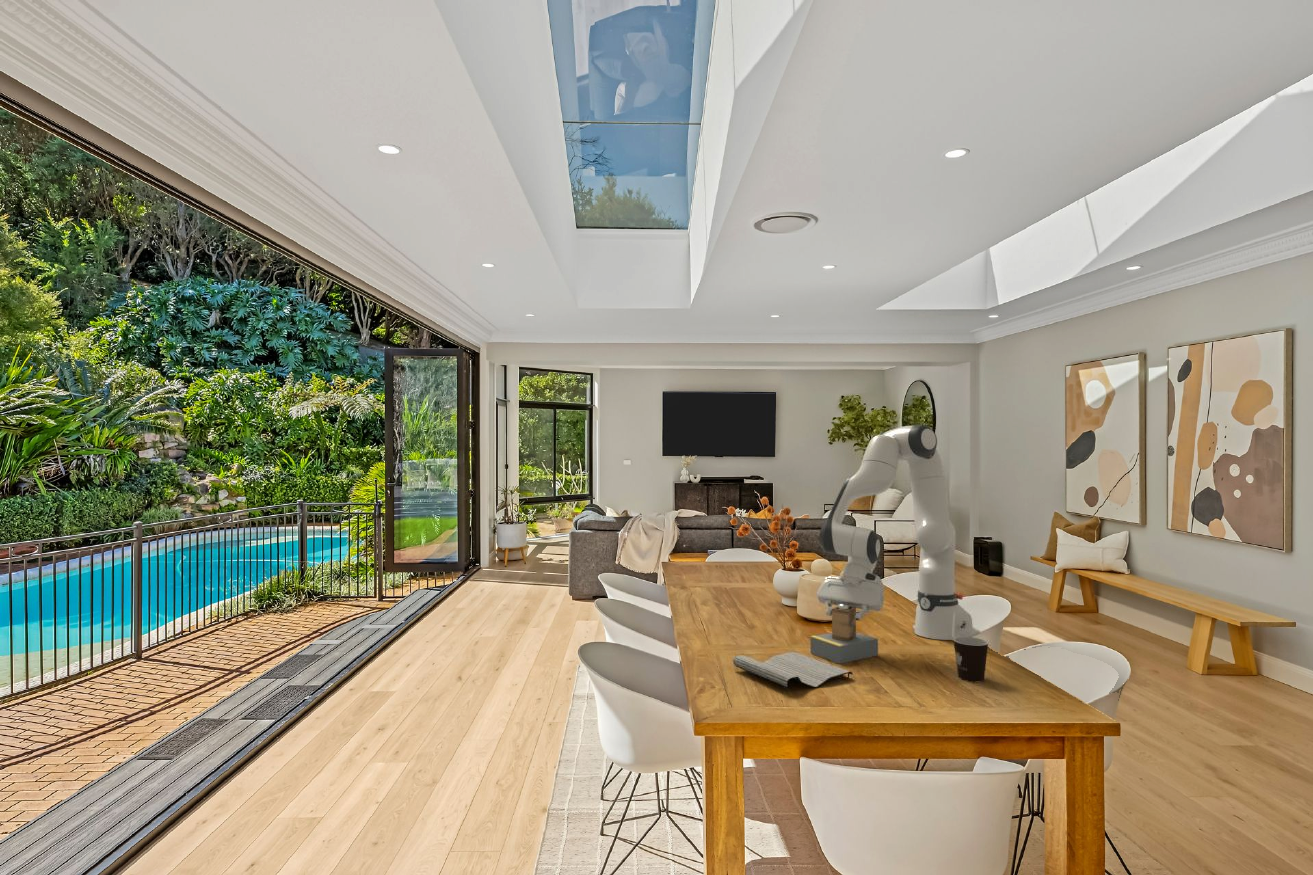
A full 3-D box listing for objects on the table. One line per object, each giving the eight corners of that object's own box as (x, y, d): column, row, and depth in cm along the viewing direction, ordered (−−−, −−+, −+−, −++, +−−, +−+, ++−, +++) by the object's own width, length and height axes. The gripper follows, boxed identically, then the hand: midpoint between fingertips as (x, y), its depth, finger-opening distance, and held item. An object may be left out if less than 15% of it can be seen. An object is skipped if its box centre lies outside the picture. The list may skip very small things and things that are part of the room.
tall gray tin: (840, 634, 209) (840, 605, 209) (856, 636, 206) (855, 607, 206) (832, 638, 205) (832, 608, 205) (848, 641, 201) (847, 611, 202)
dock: (848, 645, 215) (848, 628, 215) (878, 655, 204) (877, 637, 204) (810, 653, 207) (810, 636, 207) (839, 663, 196) (839, 645, 196)
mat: (853, 680, 183) (853, 663, 183) (787, 697, 171) (787, 678, 171) (795, 658, 203) (795, 642, 203) (732, 671, 191) (732, 654, 191)
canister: (843, 609, 208) (843, 603, 208) (851, 611, 205) (851, 605, 205) (836, 610, 206) (836, 604, 206) (843, 613, 203) (843, 606, 203)
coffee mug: (990, 684, 178) (990, 646, 178) (955, 681, 181) (954, 643, 181) (984, 671, 189) (984, 635, 190) (951, 668, 192) (950, 632, 192)
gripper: (821, 570, 218) (808, 606, 210) (884, 577, 205) (872, 616, 197) (827, 581, 221) (814, 617, 213) (889, 589, 208) (878, 628, 200)
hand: (842, 617), depth 205 cm, fingers open, 8 cm apart
